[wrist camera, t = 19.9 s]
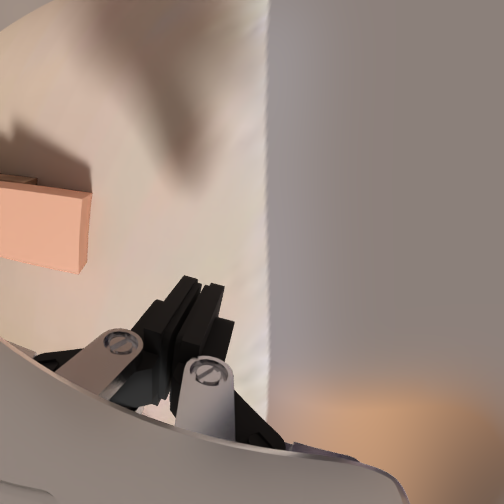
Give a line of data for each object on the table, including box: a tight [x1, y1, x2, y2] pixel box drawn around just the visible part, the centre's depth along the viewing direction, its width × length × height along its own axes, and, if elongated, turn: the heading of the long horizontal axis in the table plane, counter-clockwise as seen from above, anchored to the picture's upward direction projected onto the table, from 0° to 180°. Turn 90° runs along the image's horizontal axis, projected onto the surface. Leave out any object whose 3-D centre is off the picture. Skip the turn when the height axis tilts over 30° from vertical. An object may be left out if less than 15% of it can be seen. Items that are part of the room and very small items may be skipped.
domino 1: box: [0, 181, 92, 274], centre depth 14 cm, size 2×5×9 cm
